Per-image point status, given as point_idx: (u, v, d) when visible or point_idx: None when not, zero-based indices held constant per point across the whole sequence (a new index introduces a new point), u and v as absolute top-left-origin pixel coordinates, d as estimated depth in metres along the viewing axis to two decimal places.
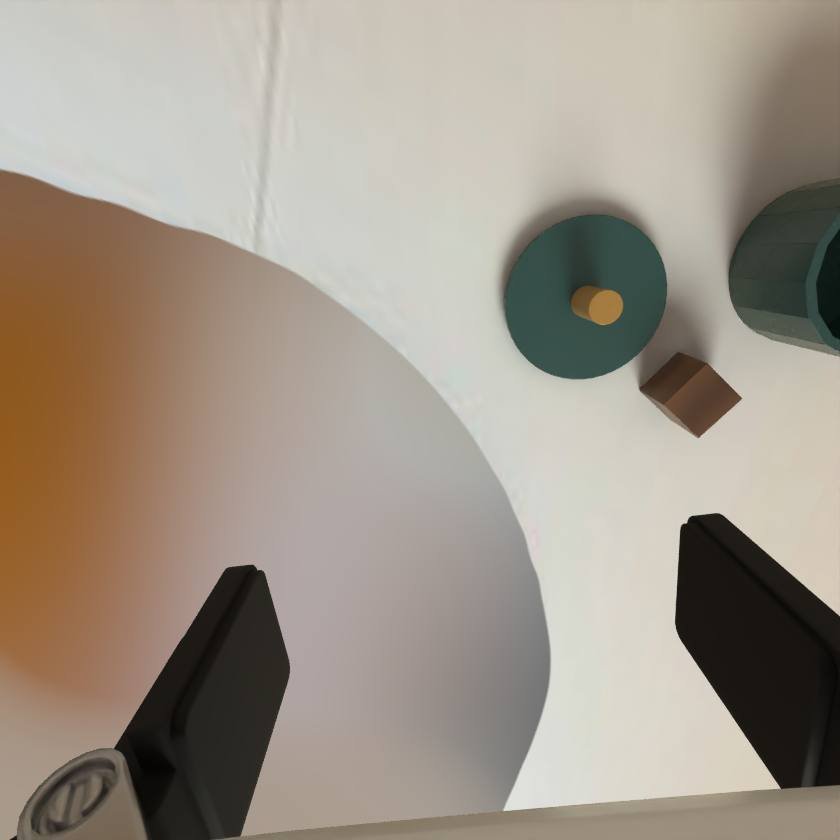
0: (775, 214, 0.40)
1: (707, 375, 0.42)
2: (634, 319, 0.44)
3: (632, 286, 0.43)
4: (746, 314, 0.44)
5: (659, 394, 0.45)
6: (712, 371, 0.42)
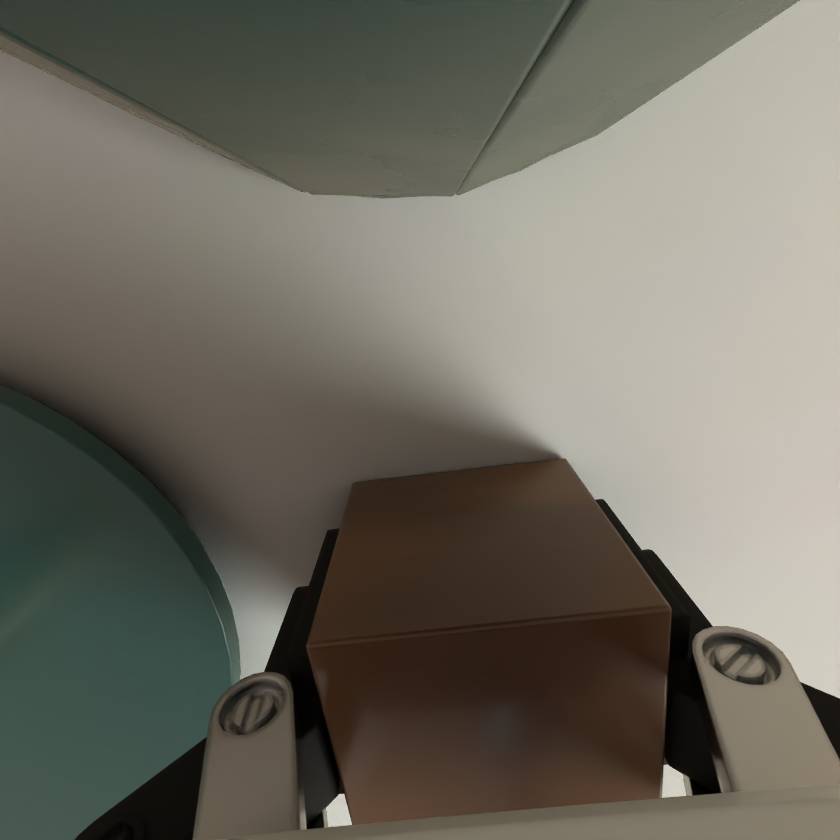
0: None
1: (377, 678, 0.07)
2: (83, 573, 0.11)
3: None
4: (351, 188, 0.08)
5: None
6: (369, 650, 0.07)
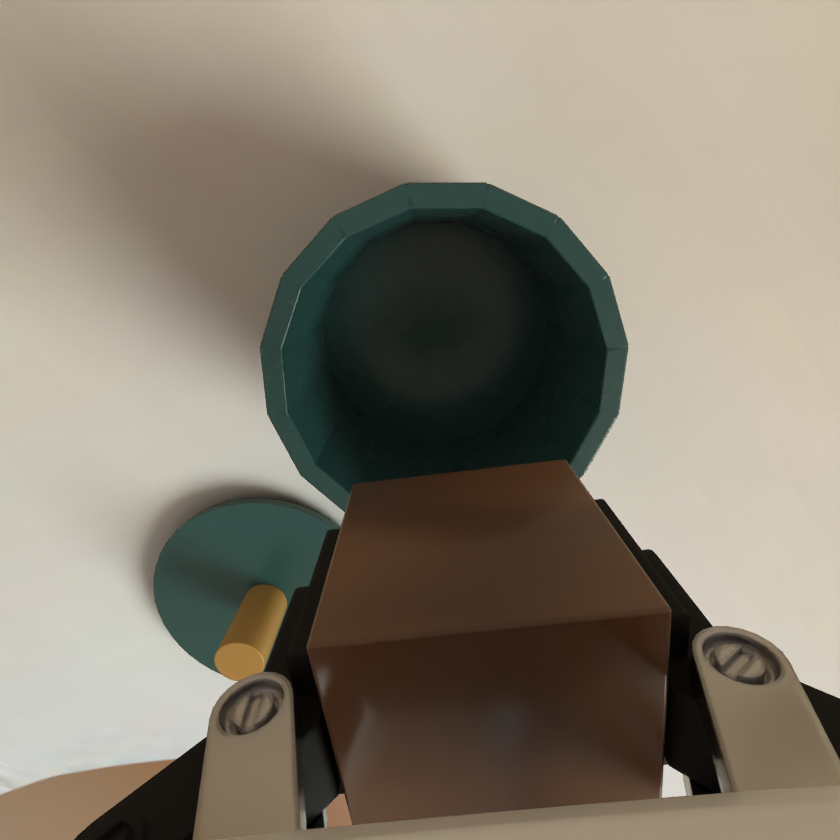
0: None
1: (377, 679, 0.07)
2: None
3: (286, 550, 0.30)
4: None
5: None
6: (369, 650, 0.07)
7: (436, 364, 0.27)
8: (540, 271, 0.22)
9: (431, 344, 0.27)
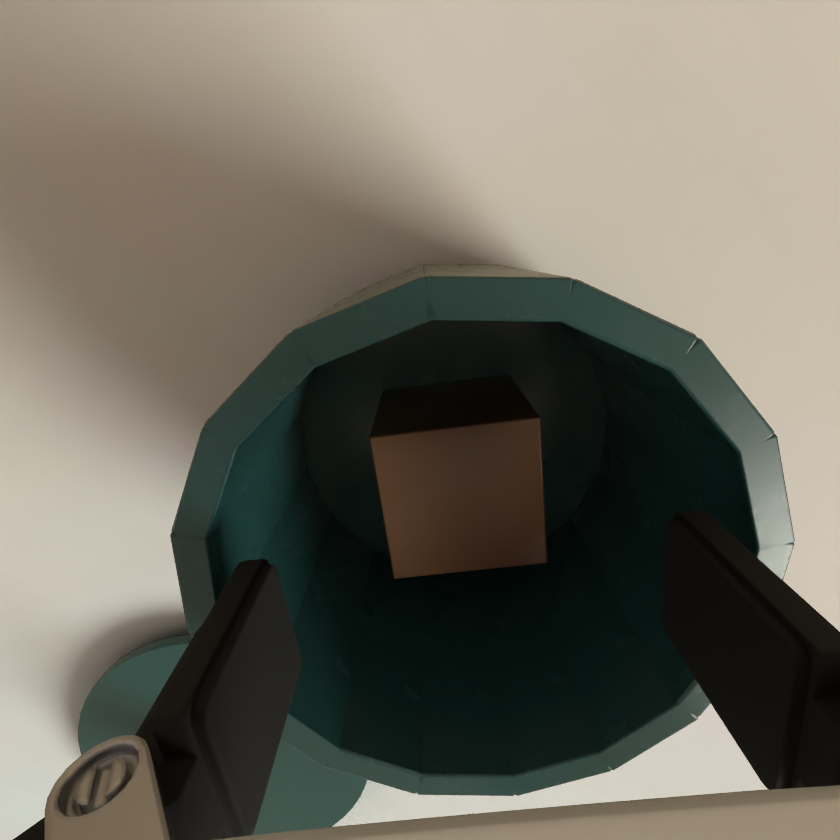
0: None
1: (402, 455, 0.14)
2: None
3: None
4: None
5: None
6: (399, 439, 0.14)
7: None
8: (614, 370, 0.15)
9: None
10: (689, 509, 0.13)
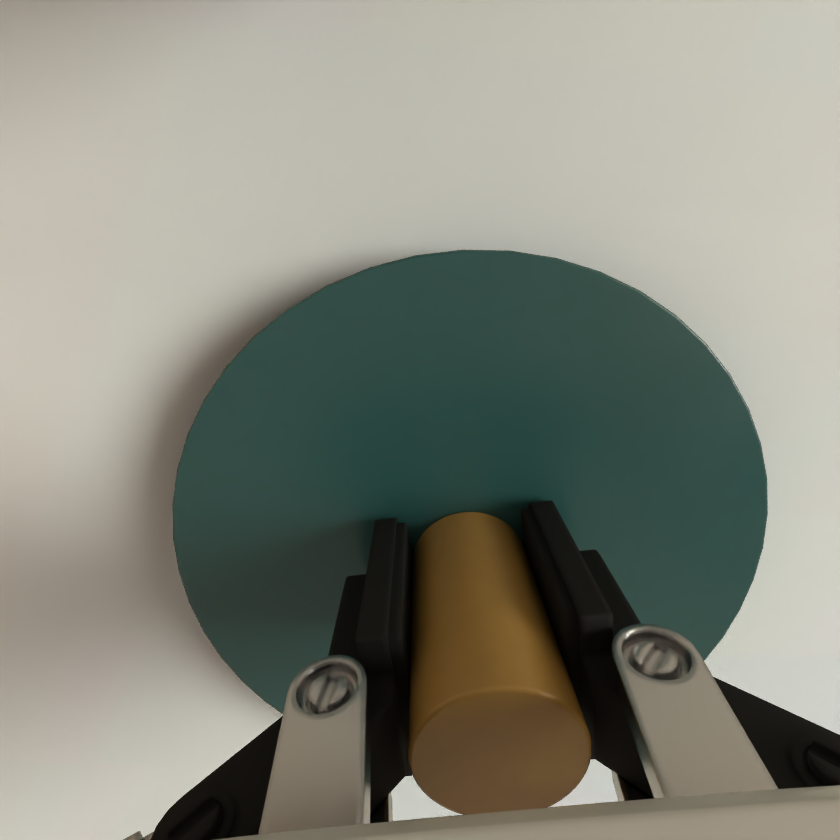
0: None
1: None
2: (554, 380, 0.10)
3: (418, 404, 0.11)
4: None
5: None
6: None
7: None
8: None
9: None
10: None
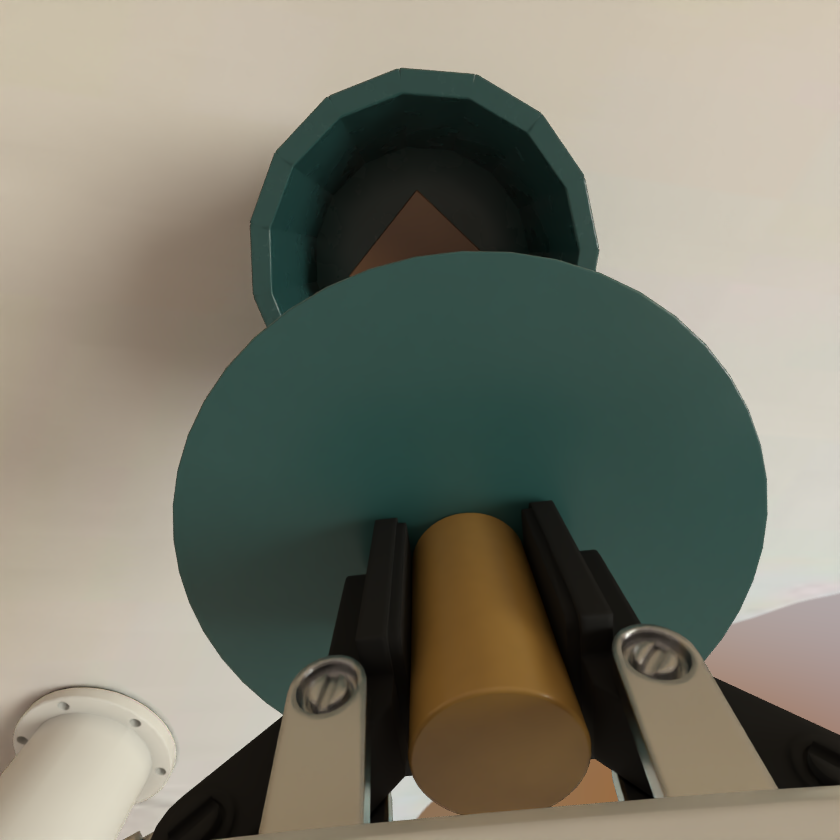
0: None
1: None
2: (554, 381, 0.10)
3: (419, 405, 0.11)
4: None
5: None
6: (362, 264, 0.23)
7: None
8: (445, 136, 0.23)
9: None
10: (521, 159, 0.20)
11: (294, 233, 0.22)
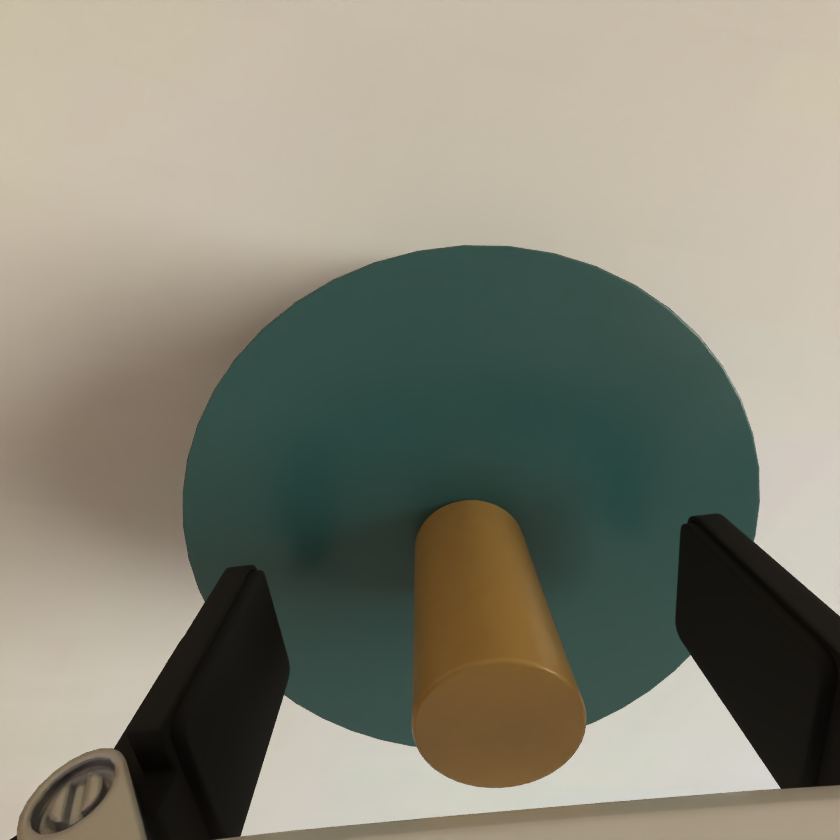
0: None
1: None
2: (552, 371, 0.11)
3: (421, 394, 0.11)
4: None
5: None
6: None
7: None
8: None
9: None
10: None
11: None
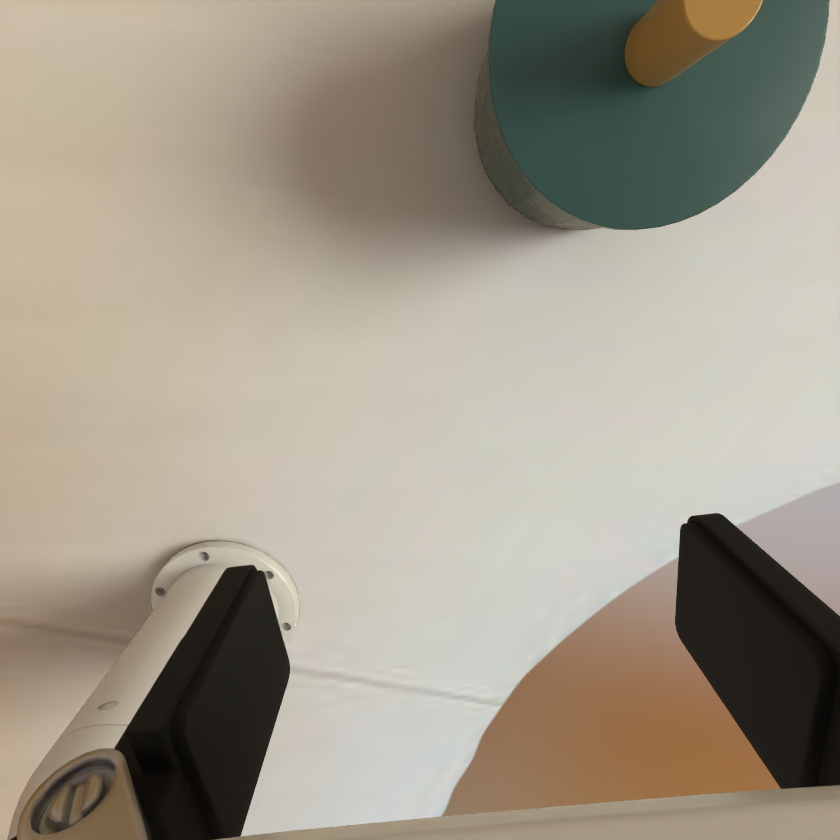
0: (517, 202, 0.30)
1: None
2: None
3: None
4: None
5: None
6: None
7: None
8: None
9: None
10: None
11: None
